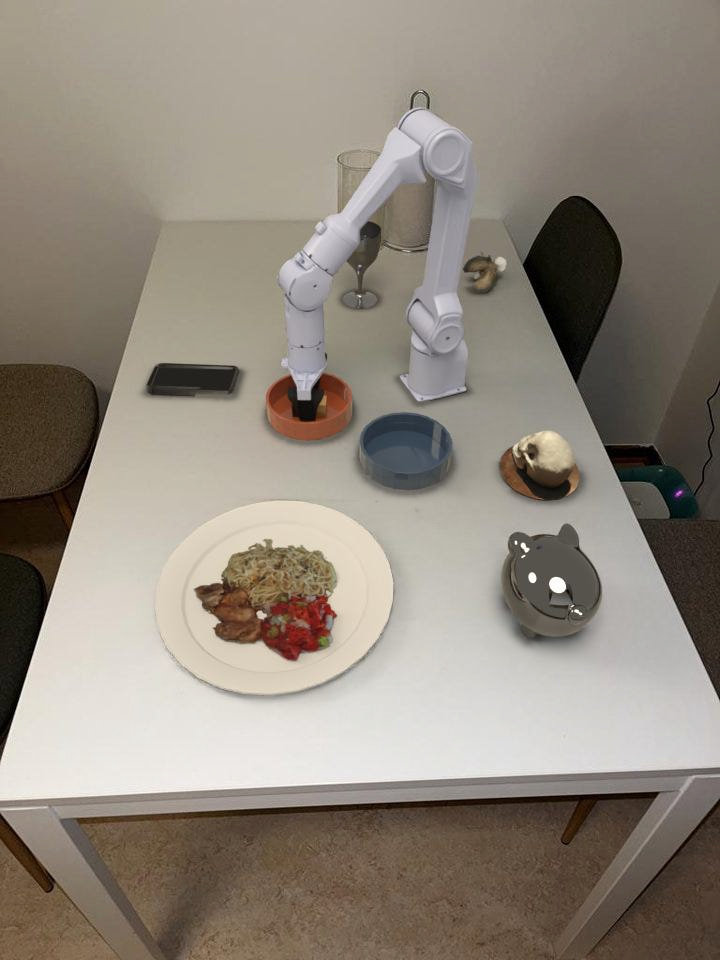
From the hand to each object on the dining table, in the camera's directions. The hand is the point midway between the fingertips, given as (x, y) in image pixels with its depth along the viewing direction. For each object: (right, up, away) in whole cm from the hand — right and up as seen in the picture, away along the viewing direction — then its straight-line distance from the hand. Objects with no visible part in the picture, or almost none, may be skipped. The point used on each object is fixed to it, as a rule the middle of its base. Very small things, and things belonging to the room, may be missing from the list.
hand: (309, 408), depth 114 cm
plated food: (-2, -27, -25) cm, 37 cm away
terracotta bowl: (0, -1, +1) cm, 1 cm away
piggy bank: (+31, -29, -27) cm, 50 cm away
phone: (-21, +5, +7) cm, 23 cm away
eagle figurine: (+35, +30, +34) cm, 57 cm away
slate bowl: (+15, -9, -7) cm, 19 cm away
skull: (+36, -11, -8) cm, 38 cm away
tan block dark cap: (0, -1, +1) cm, 1 cm away
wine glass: (+8, +25, +28) cm, 39 cm away
